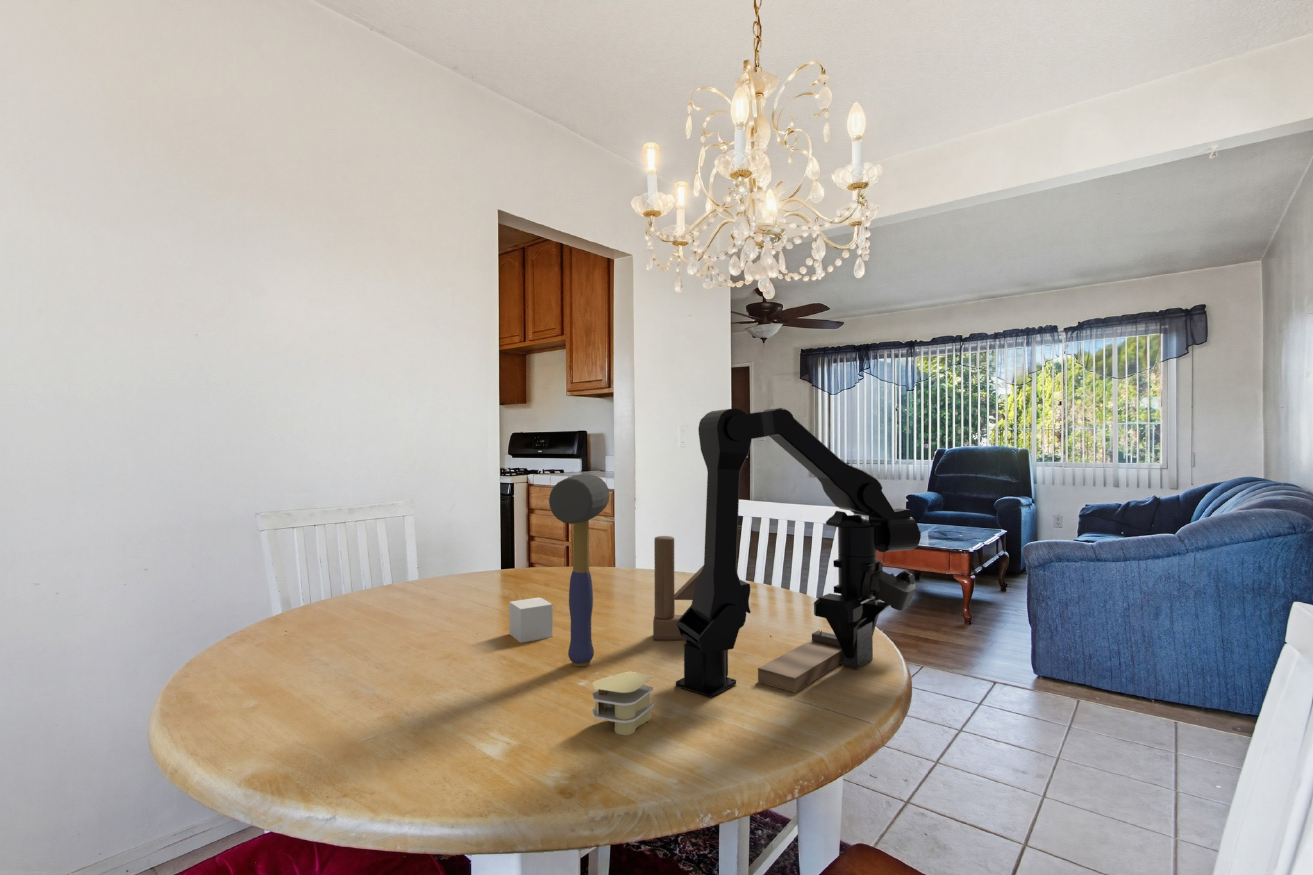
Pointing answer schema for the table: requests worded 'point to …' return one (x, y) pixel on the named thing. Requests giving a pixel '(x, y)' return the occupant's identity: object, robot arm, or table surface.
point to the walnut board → (800, 666)
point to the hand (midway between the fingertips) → (857, 652)
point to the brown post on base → (668, 590)
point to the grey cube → (530, 619)
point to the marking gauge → (862, 645)
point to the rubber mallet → (580, 553)
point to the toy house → (623, 700)
